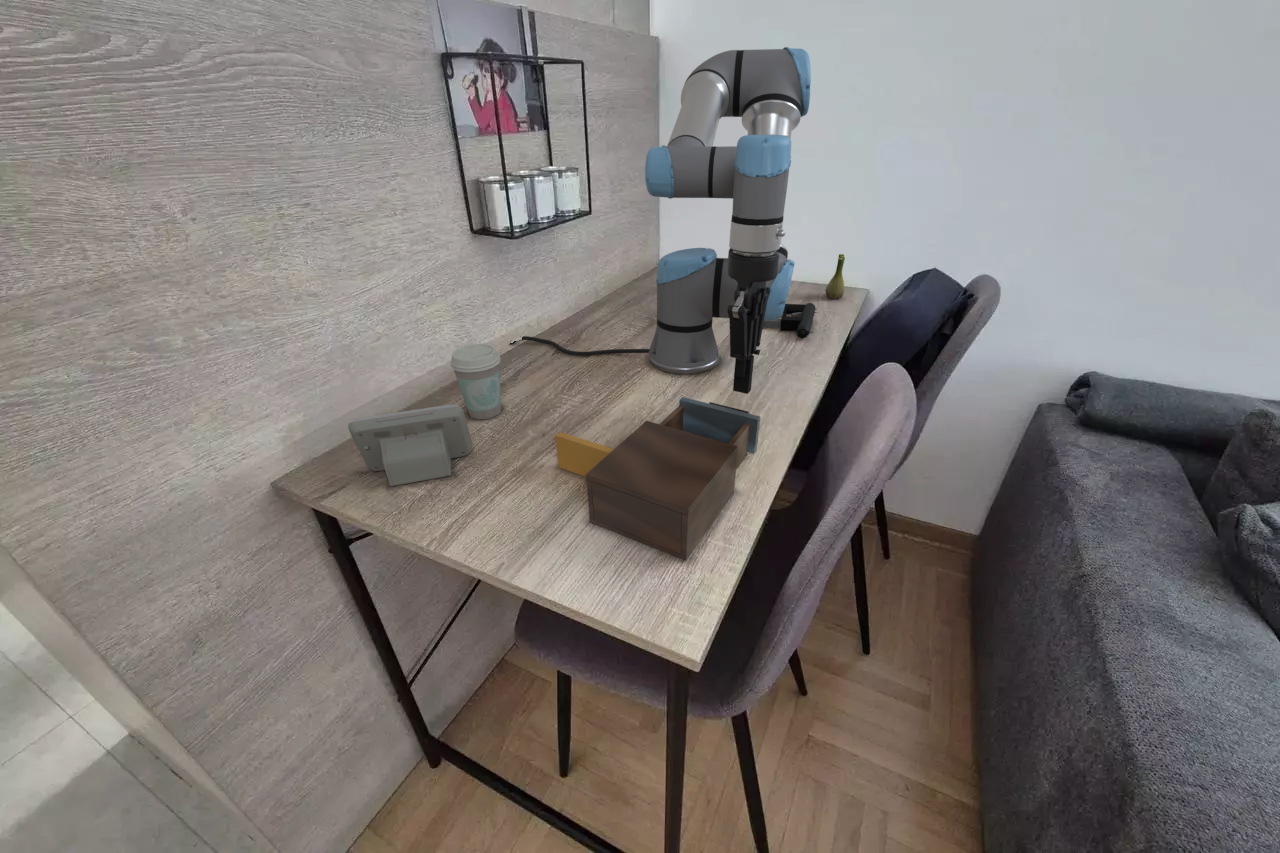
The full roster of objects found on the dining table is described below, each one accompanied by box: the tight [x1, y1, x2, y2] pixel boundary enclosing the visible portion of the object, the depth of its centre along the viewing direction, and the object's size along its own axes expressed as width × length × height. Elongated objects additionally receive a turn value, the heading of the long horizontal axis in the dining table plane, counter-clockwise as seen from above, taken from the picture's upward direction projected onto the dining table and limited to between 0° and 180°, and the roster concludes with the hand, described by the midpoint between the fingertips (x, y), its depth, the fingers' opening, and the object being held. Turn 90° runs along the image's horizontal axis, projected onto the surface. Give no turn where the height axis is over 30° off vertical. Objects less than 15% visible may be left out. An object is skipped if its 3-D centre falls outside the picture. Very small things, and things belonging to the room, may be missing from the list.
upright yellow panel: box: [554, 431, 615, 478], centre depth 82 cm, size 10×1×6 cm, turn 60°
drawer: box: [659, 396, 761, 470], centre depth 84 cm, size 19×13×6 cm
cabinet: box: [585, 420, 738, 561], centre depth 74 cm, size 16×15×8 cm
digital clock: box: [347, 403, 473, 487], centre depth 83 cm, size 16×9×11 cm, turn 96°
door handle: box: [763, 302, 818, 340], centre depth 136 cm, size 3×20×16 cm
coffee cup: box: [450, 343, 502, 420], centre depth 98 cm, size 8×8×12 cm
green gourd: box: [825, 253, 846, 300], centre depth 151 cm, size 6×5×12 cm
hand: (741, 390), depth 94 cm, fingers closed
